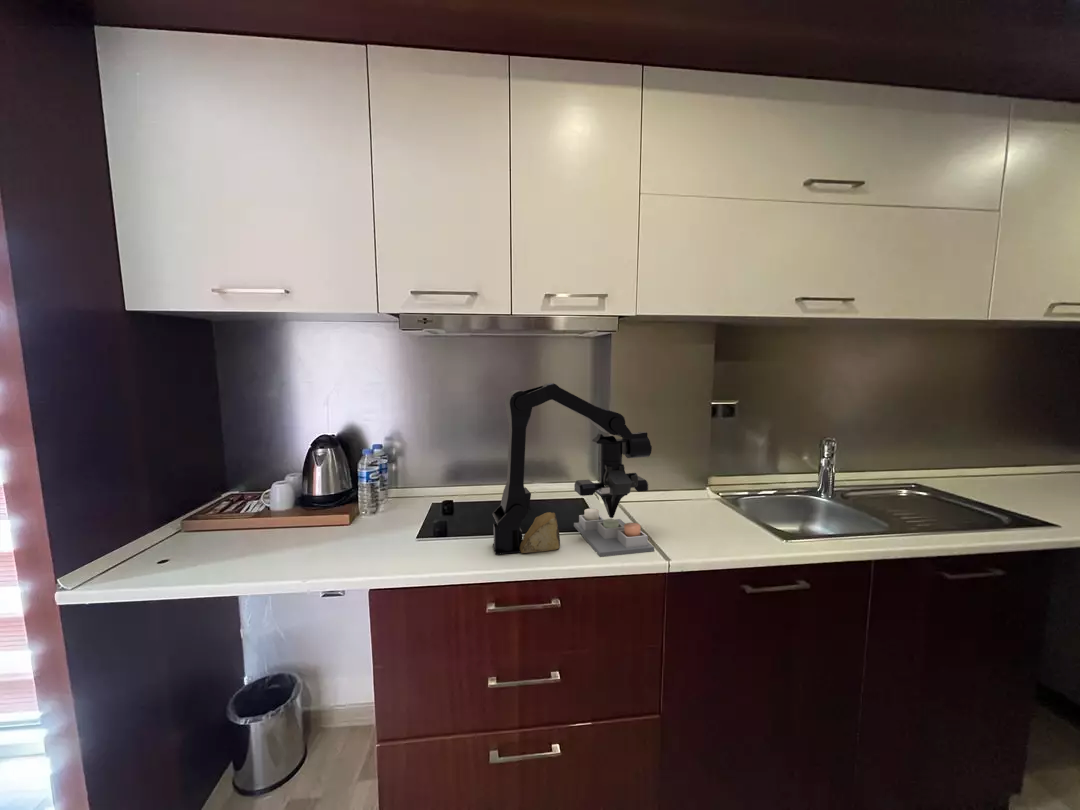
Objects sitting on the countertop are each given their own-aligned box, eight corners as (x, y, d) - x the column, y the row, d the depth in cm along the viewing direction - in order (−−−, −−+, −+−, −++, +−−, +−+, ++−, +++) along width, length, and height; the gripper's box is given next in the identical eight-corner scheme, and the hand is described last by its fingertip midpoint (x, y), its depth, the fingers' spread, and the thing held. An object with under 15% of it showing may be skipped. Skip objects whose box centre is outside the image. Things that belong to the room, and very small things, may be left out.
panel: (600, 556, 109) (600, 542, 108) (573, 526, 130) (573, 514, 130) (654, 551, 111) (654, 537, 111) (619, 522, 133) (619, 510, 133)
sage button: (606, 535, 118) (606, 524, 118) (601, 530, 122) (601, 519, 122) (620, 534, 119) (620, 523, 119) (615, 529, 123) (615, 518, 123)
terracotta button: (628, 540, 112) (628, 528, 112) (621, 534, 116) (621, 523, 116) (643, 539, 113) (643, 527, 113) (636, 533, 117) (636, 522, 116)
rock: (514, 549, 107) (556, 546, 106) (515, 513, 112) (555, 510, 111) (524, 560, 116) (562, 557, 115) (524, 527, 121) (561, 524, 120)
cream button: (587, 524, 124) (587, 513, 124) (582, 519, 128) (582, 509, 128) (600, 522, 125) (600, 512, 125) (596, 518, 129) (596, 507, 129)
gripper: (586, 467, 109) (587, 531, 110) (658, 463, 113) (657, 524, 114) (573, 459, 120) (574, 516, 121) (639, 455, 124) (639, 511, 125)
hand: (611, 517), depth 120 cm, fingers closed
